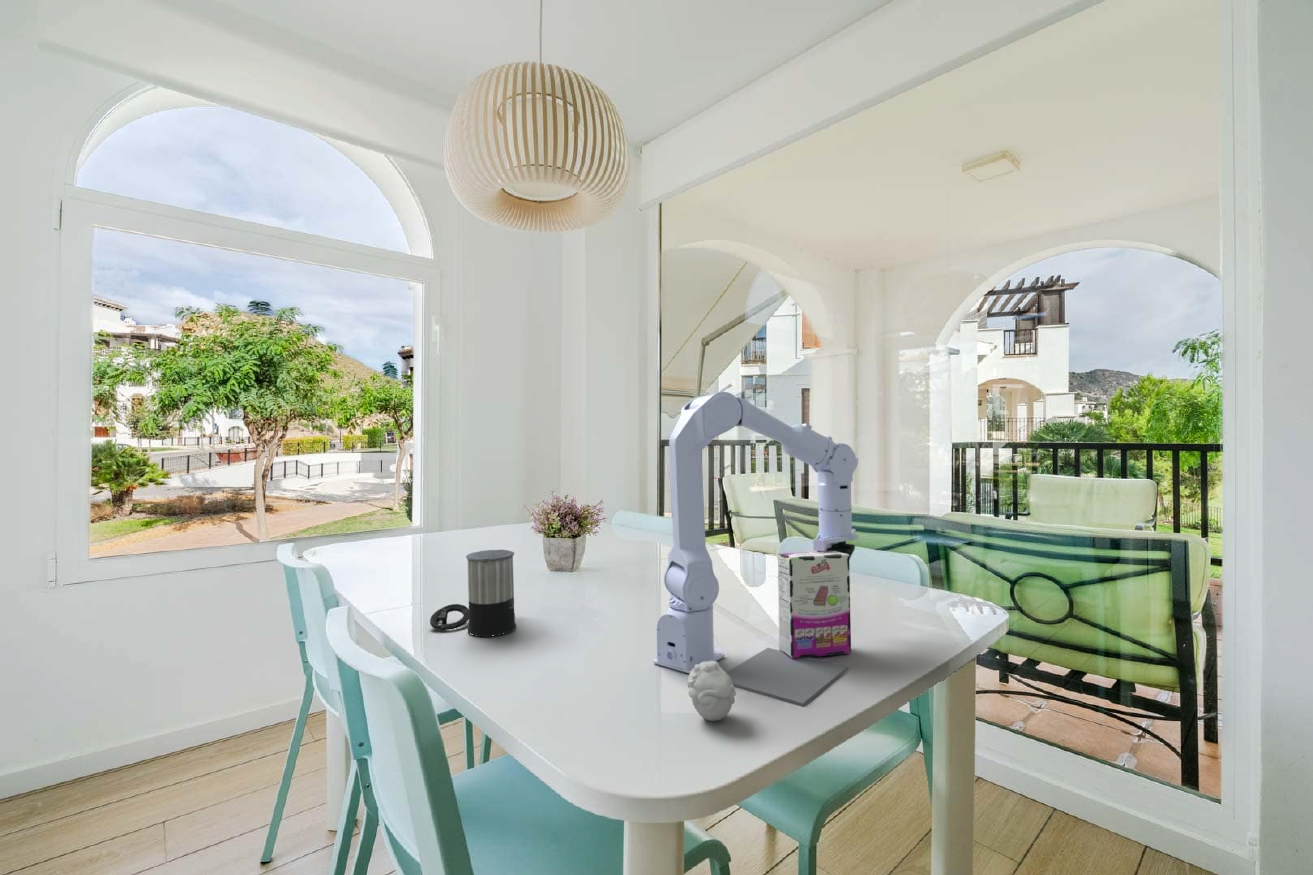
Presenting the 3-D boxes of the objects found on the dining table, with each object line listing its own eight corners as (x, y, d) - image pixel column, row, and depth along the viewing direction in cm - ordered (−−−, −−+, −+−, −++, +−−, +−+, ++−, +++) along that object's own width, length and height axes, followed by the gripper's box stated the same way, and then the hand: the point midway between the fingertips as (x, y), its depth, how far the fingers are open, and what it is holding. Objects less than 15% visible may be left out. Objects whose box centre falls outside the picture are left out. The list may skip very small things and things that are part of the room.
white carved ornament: (716, 702, 81) (715, 651, 81) (747, 723, 75) (746, 668, 75) (678, 712, 79) (677, 660, 79) (707, 735, 72) (706, 678, 72)
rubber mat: (803, 706, 80) (803, 703, 80) (716, 680, 88) (715, 678, 88) (848, 668, 92) (848, 666, 92) (767, 649, 101) (767, 647, 101)
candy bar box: (835, 644, 103) (834, 549, 103) (852, 653, 98) (851, 554, 98) (776, 649, 100) (776, 551, 100) (791, 659, 95) (790, 556, 96)
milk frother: (519, 634, 112) (518, 555, 112) (430, 646, 106) (429, 563, 106) (509, 613, 125) (508, 543, 125) (430, 623, 120) (428, 550, 120)
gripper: (840, 515, 98) (842, 597, 98) (871, 506, 110) (872, 579, 110) (801, 512, 103) (803, 590, 103) (834, 504, 114) (835, 574, 114)
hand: (836, 584), depth 107 cm, fingers closed
